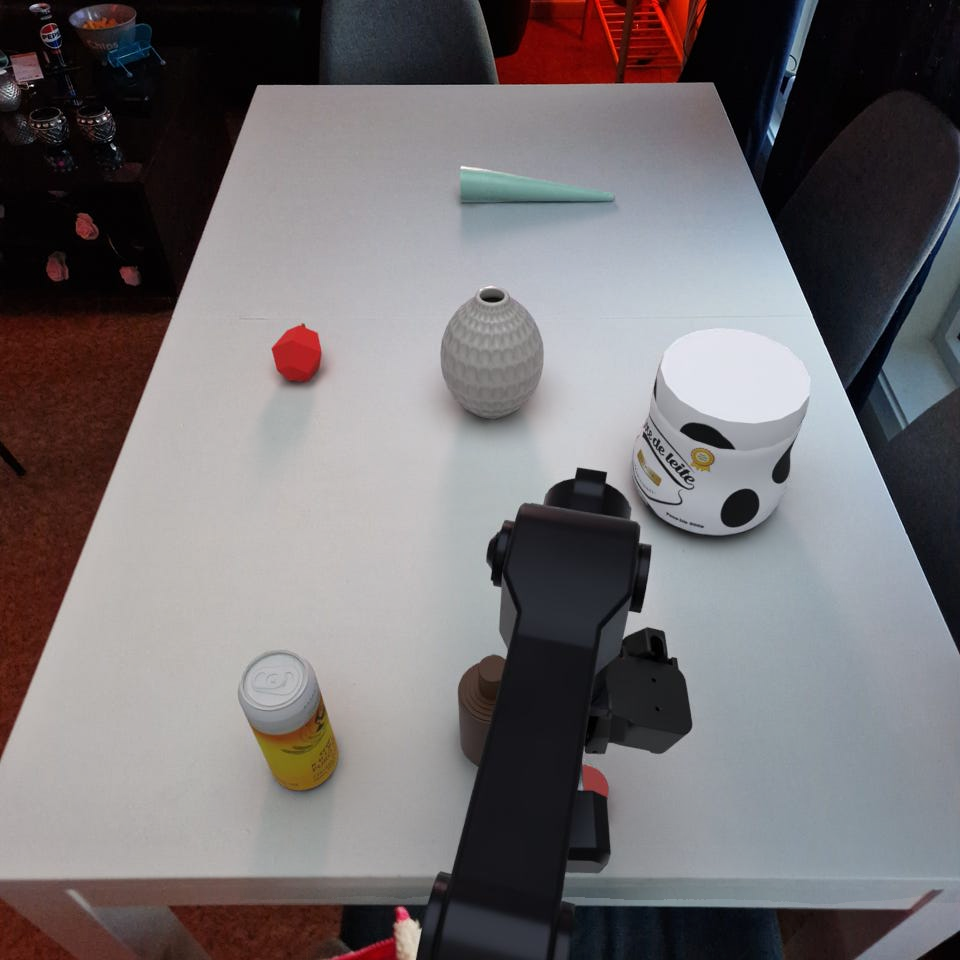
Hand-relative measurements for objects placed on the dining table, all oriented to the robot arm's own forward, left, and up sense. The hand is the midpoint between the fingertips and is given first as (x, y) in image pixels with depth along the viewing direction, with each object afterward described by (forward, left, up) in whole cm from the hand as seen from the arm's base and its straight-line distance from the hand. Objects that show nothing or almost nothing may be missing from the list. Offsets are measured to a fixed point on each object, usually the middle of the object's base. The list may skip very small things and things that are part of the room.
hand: (545, 771), depth 61 cm
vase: (+55, +5, -13) cm, 57 cm away
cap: (+3, -4, -13) cm, 14 cm away
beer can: (+6, +21, -13) cm, 26 cm away
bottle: (+9, +4, -13) cm, 16 cm away
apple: (+61, +31, -13) cm, 70 cm away
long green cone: (+108, -2, -13) cm, 109 cm away
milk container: (+40, -20, -13) cm, 47 cm away
